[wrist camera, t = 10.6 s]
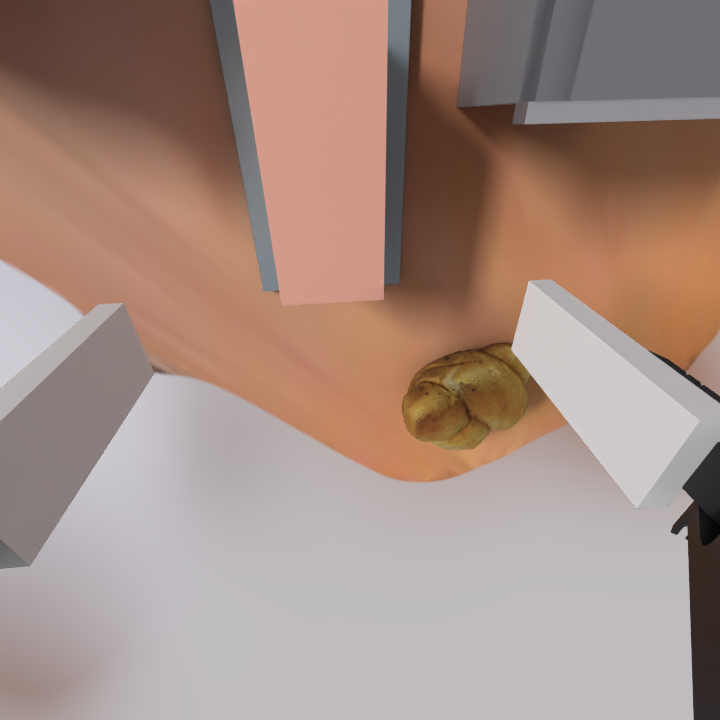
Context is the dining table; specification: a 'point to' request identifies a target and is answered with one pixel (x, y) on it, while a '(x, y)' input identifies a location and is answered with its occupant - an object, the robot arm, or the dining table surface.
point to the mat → (247, 146)
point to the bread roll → (466, 397)
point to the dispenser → (593, 59)
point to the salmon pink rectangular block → (320, 141)
